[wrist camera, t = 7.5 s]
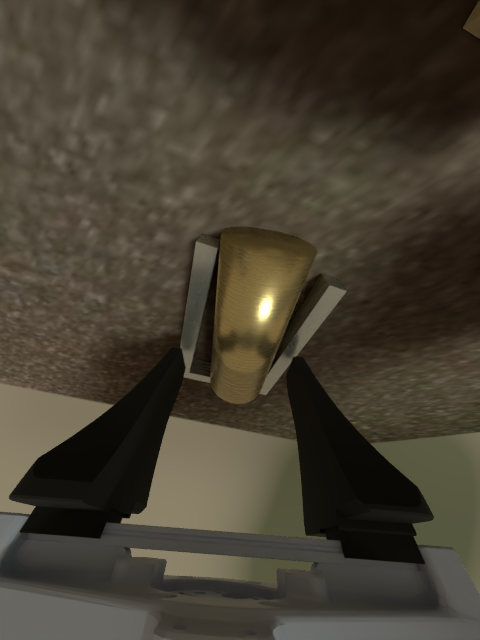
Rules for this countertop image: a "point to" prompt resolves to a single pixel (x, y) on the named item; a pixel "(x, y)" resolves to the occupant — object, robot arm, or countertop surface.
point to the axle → (254, 306)
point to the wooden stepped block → (474, 22)
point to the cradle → (295, 335)
